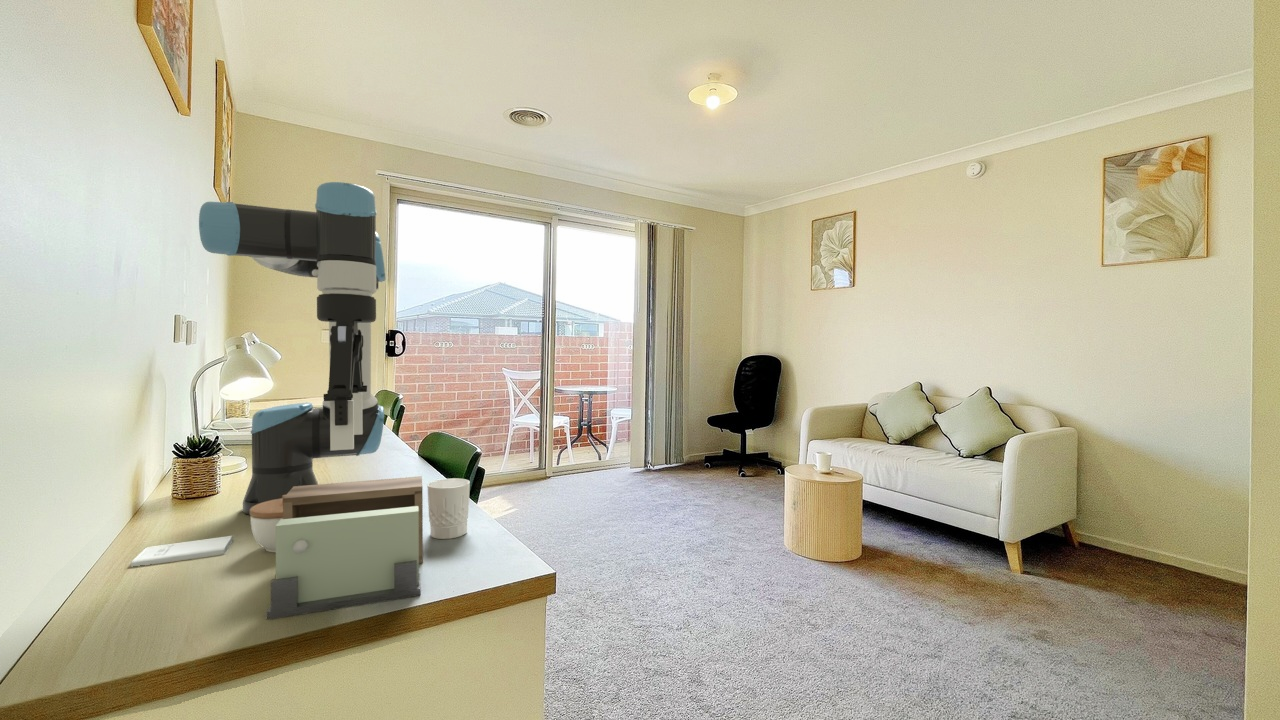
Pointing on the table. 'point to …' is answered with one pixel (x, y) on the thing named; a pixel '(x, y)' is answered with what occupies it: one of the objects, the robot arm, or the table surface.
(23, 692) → the table surface
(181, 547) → the external hard drive
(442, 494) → the white cup
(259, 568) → the table surface
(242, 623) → the table surface
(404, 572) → the clip rail
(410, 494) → the cabinet
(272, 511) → the lidded jar
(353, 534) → the door panel
